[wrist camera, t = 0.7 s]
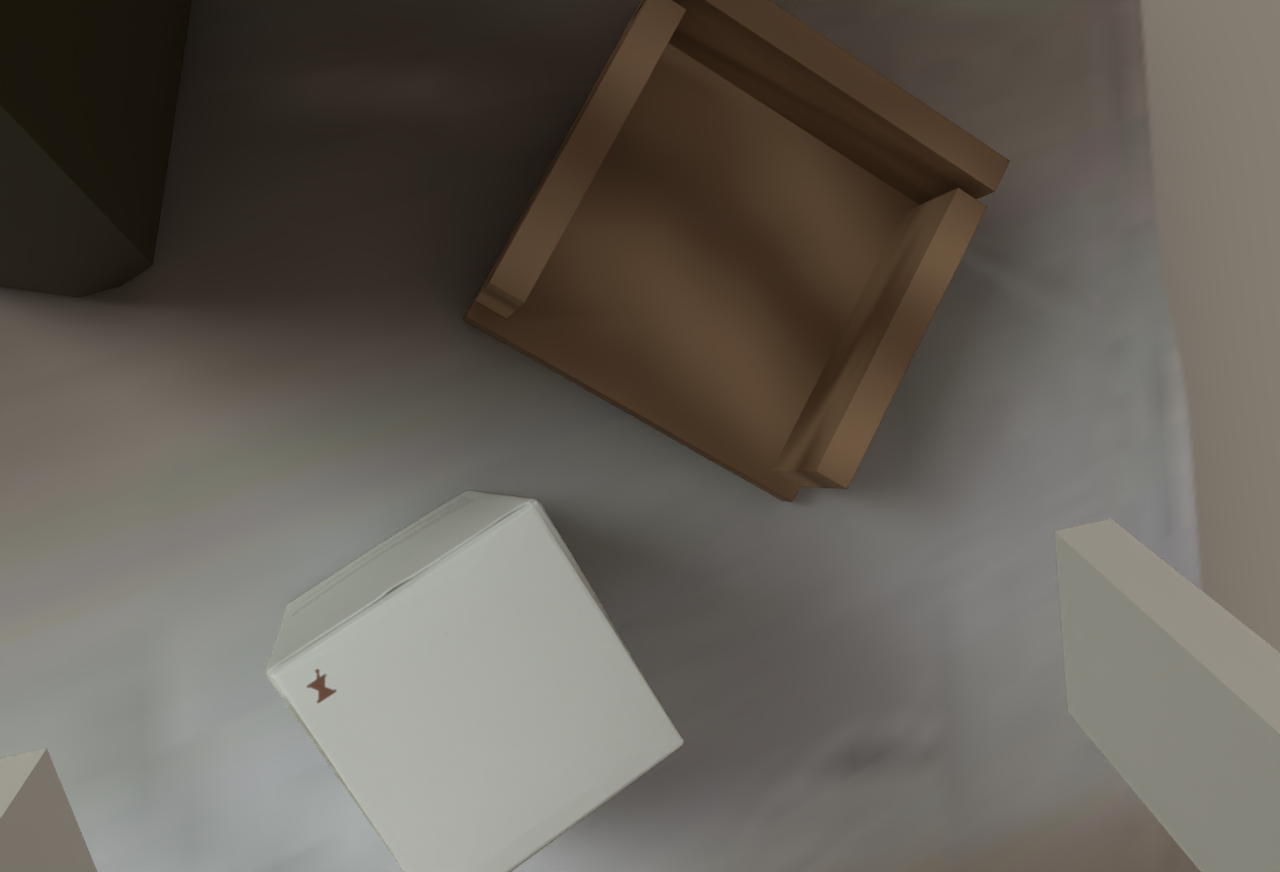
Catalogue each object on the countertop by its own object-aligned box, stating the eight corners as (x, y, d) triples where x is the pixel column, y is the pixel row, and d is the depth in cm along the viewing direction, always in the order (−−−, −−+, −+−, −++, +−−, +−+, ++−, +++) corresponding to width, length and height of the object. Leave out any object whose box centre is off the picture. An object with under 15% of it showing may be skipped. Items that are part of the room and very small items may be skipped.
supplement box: (402, 790, 39) (430, 938, 27) (280, 602, 39) (252, 666, 26) (588, 664, 41) (695, 749, 29) (475, 481, 40) (534, 489, 28)
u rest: (782, 501, 43) (839, 505, 38) (462, 319, 40) (479, 299, 35) (937, 193, 45) (1009, 160, 40) (640, 1, 42) (680, -60, 37)
